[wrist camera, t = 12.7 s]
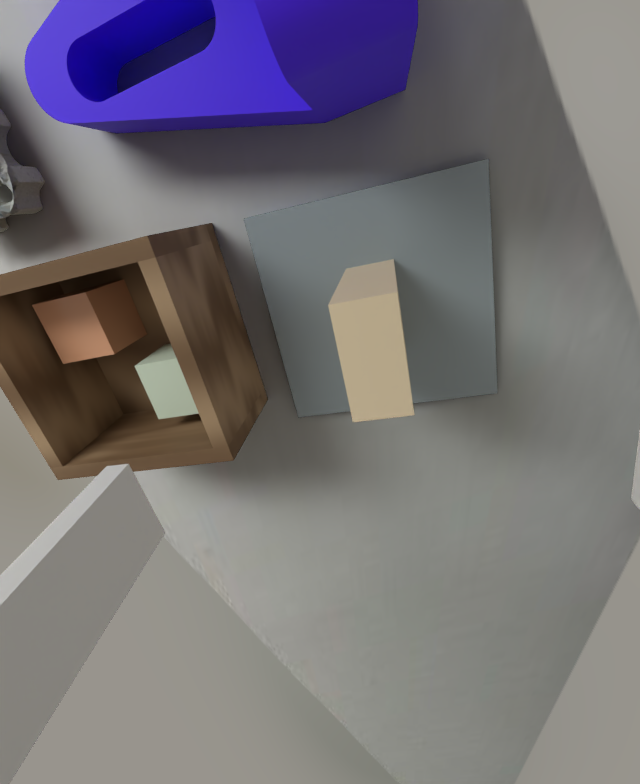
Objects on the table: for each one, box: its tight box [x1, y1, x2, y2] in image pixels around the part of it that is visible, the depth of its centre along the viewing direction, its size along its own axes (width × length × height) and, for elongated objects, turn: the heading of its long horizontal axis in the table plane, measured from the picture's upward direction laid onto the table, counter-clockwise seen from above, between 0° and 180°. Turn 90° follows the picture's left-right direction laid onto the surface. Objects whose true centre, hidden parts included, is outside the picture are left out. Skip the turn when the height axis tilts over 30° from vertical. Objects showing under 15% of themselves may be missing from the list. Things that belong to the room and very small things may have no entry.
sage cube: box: [135, 344, 199, 419], centre depth 28 cm, size 4×4×4 cm
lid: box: [244, 159, 497, 422], centre depth 23 cm, size 14×14×10 cm
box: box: [0, 223, 268, 480], centre depth 27 cm, size 13×13×8 cm
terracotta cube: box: [32, 279, 147, 364], centre depth 27 cm, size 4×4×4 cm
